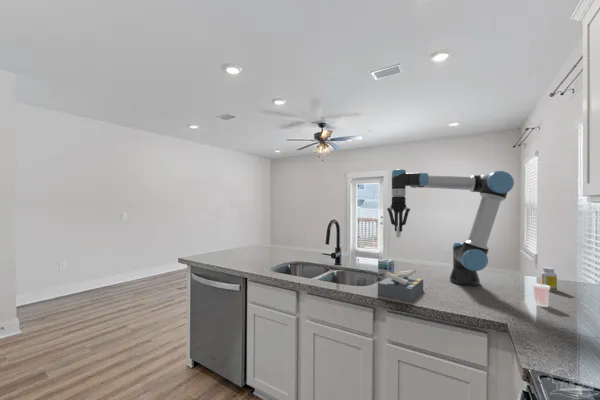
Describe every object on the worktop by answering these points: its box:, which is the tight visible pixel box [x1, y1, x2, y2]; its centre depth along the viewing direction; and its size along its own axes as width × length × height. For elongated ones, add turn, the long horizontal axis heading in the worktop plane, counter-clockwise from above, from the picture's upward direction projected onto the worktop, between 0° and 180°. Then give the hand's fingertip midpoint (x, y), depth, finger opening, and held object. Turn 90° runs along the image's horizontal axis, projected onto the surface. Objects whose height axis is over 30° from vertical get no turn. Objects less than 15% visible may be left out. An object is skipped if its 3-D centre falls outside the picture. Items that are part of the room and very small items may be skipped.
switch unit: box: [377, 276, 424, 303], centre depth 144 cm, size 16×22×7 cm
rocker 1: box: [386, 272, 408, 285], centre depth 139 cm, size 10×4×2 cm, turn 53°
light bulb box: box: [377, 257, 395, 280], centre depth 174 cm, size 11×7×11 cm, turn 143°
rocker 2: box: [394, 272, 413, 277], centre depth 144 cm, size 10×4×2 cm, turn 53°
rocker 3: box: [394, 269, 417, 275], centre depth 150 cm, size 10×4×2 cm, turn 53°
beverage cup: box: [532, 273, 550, 308], centre depth 128 cm, size 6×6×14 cm
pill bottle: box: [540, 266, 558, 292], centre depth 152 cm, size 6×6×12 cm
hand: (398, 237), depth 162 cm, fingers closed
